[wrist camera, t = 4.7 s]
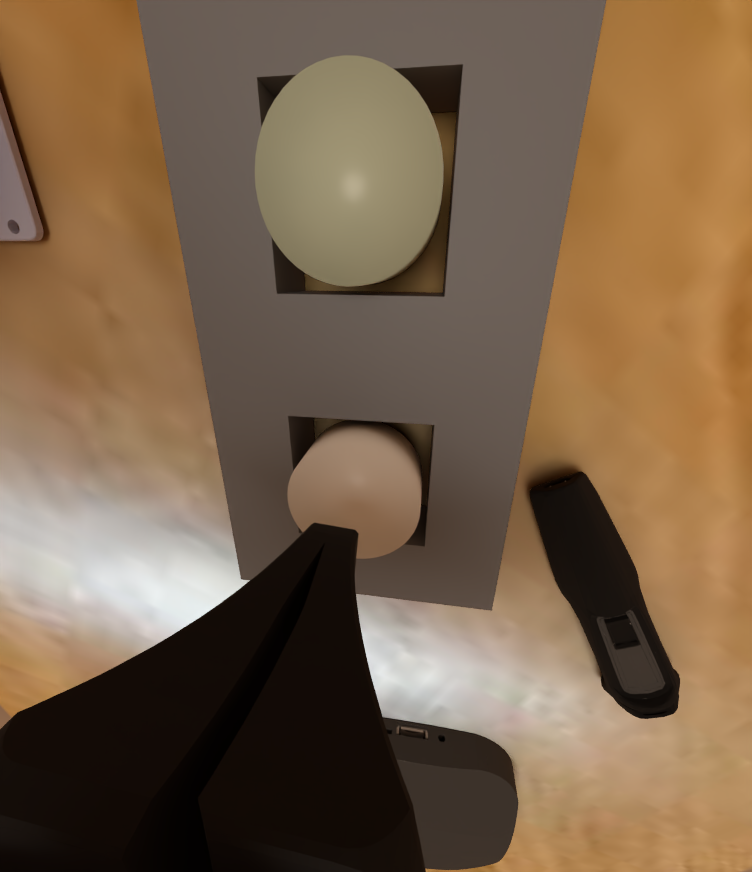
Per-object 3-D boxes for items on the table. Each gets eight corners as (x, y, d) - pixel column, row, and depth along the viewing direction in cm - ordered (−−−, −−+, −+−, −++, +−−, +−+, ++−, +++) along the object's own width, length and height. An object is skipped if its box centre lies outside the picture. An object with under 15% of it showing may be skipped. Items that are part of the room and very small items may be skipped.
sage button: (293, 283, 13) (265, 285, 11) (280, 104, 11) (243, 62, 9) (435, 285, 12) (435, 288, 10) (448, 95, 10) (452, 48, 8)
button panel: (266, 539, 21) (241, 579, 18) (105, -638, 8) (-64, -1107, 5) (483, 563, 19) (491, 610, 17) (715, -850, 6) (919, -1671, 4)
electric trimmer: (587, 439, 16) (619, 473, 14) (671, 670, 21) (709, 733, 18) (505, 468, 18) (517, 505, 15) (600, 681, 22) (625, 742, 19)
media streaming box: (491, 836, 31) (497, 891, 28) (322, 802, 33) (312, 850, 30) (520, 734, 25) (531, 789, 22) (312, 699, 27) (299, 747, 24)
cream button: (311, 516, 17) (293, 551, 15) (303, 415, 15) (281, 439, 13) (418, 527, 16) (416, 565, 14) (426, 423, 14) (424, 449, 12)
